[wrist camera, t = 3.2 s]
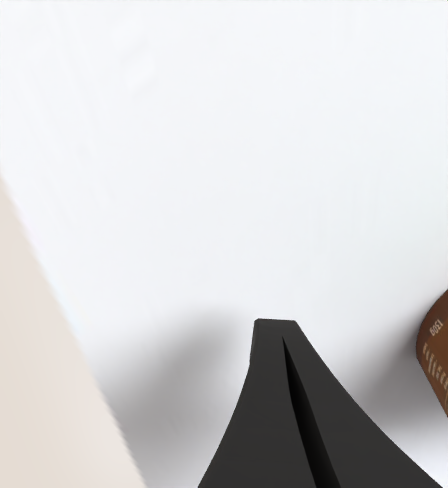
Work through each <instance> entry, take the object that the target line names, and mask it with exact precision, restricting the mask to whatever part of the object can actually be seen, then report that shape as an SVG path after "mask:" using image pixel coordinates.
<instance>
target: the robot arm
mask: <svg viewBox="0 0 448 488" xmlns="http://www.w3.org/2000/svg"><path fill="white" fill-rule="evenodd" d="M198 488H443V487H441V486H440V485H439V484H438V483H437V482H436V481H435V480H433V479H432V478H431V477H430V476H429V475H428V474H427V473H426V472H425V471H424V470H422V469H421V468H420V467H419V466H418V465H417V464H416V463H415V462H414V461H413V460H412V459H411V458H409V457H408V456H407V455H406V454H405V453H404V452H403V451H402V450H401V449H400V448H399V447H398V446H397V445H396V444H395V443H394V442H393V441H392V440H391V439H390V438H389V437H388V436H387V435H386V434H385V433H384V432H383V431H382V430H381V429H380V428H379V427H378V426H377V425H376V424H375V423H374V422H373V421H372V420H371V419H370V418H369V417H368V416H367V414H366V413H365V412H364V411H363V410H362V409H361V408H360V407H359V405H358V404H357V403H356V402H355V401H354V400H353V398H352V397H351V396H350V395H349V394H348V392H347V391H346V390H345V389H344V388H343V386H342V385H341V384H340V383H339V381H338V380H337V379H336V378H335V376H334V375H333V374H332V372H331V371H330V370H329V368H328V367H327V366H326V364H325V363H324V362H323V360H322V359H321V358H320V356H319V355H318V353H317V352H316V351H315V349H314V348H313V346H312V345H311V343H310V342H309V340H308V339H307V337H306V336H305V334H304V333H303V331H302V330H301V328H300V327H299V325H298V324H297V322H296V321H294V320H276V319H259V318H258V319H257V320H255V321H254V329H253V337H252V345H251V353H250V365H249V369H248V373H247V376H246V379H245V382H244V385H243V388H242V391H241V394H240V397H239V400H238V402H237V405H236V408H235V410H234V413H233V415H232V418H231V420H230V422H229V425H228V427H227V429H226V431H225V434H224V436H223V438H222V440H221V443H220V445H219V447H218V449H217V451H216V453H215V455H214V457H213V459H212V461H211V463H210V465H209V467H208V469H207V471H206V472H205V474H204V476H203V478H202V480H201V482H200V484H199V486H198Z"/></svg>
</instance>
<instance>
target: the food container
mask: <svg viewBox="0 0 448 488" xmlns="http://www.w3.org/2000/svg"><path fill="white" fill-rule="evenodd" d="M416 354H417V359H418V361H419V363H420V365H421V367H422V369H423V371H424V373H425V375H426V377H427V379H428V381H429V382H430V384H431V386H432V388H433V390H434V392H435V394H436V396H437V398H438V400H439V402H440V404H441V406H442V407H443V409H444V411H445V413H446V415H447V417H448V290H447V291H446V292H445V293H444V294H443V295H442V296H441V297H440V298H439V299H438V300H437V301H436V302H435V304H434V305H433V306H432V308H431V309H430V310H429V312H428V313H427V315H426V317H425V319H424V321H423V322H422V324H421V327H420V330H419V333H418V336H417V343H416Z"/></svg>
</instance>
